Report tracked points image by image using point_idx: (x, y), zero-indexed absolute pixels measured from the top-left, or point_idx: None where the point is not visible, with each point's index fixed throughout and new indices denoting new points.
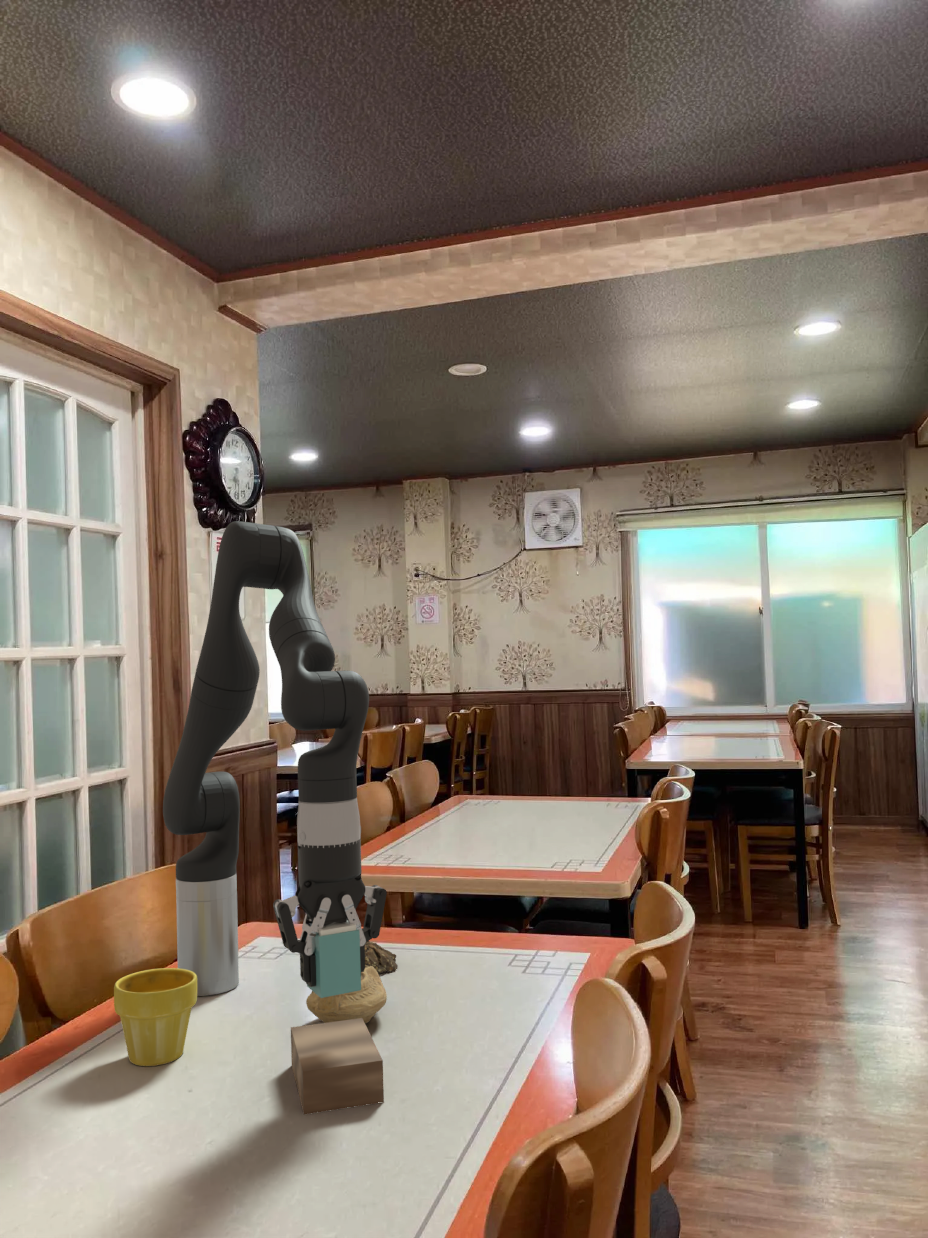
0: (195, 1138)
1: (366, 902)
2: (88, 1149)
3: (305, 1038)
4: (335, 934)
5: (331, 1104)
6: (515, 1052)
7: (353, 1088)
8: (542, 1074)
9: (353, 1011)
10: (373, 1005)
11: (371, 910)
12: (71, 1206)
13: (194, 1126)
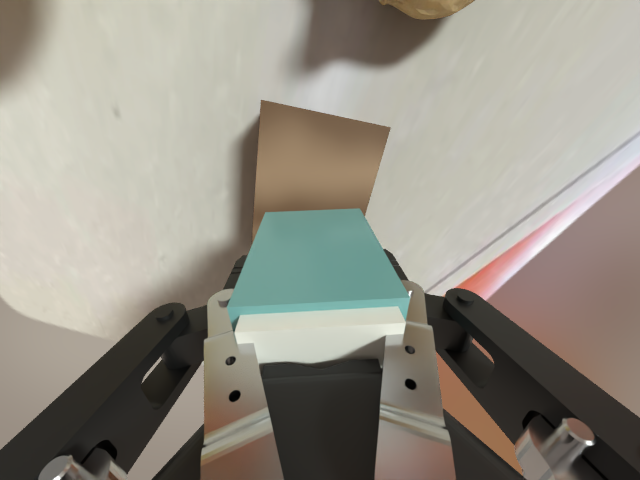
0: (145, 245)
1: (527, 430)
2: (23, 219)
3: (275, 169)
4: None
5: None
6: (521, 215)
7: None
8: (494, 272)
9: (414, 15)
10: (464, 6)
11: (504, 405)
12: (55, 305)
13: (140, 220)
